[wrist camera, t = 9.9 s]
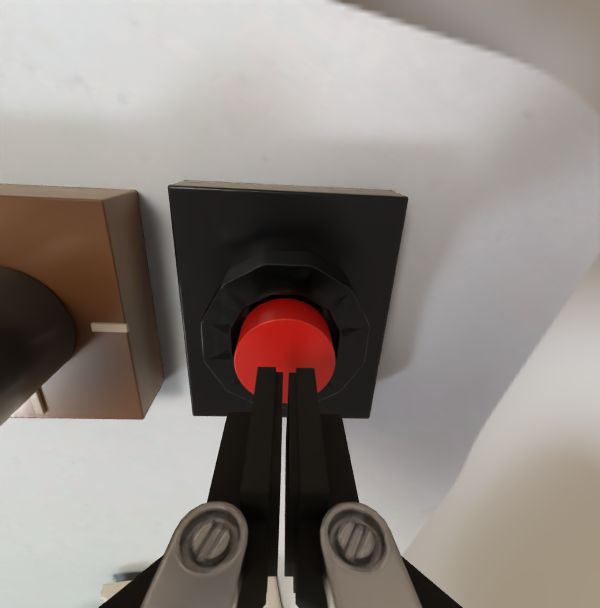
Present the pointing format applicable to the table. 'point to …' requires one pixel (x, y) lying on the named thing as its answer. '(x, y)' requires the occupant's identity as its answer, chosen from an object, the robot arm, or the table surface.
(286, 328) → the power button
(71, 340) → the dimmer knob
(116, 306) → the dimmer panel
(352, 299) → the switch block
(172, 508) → the table surface
